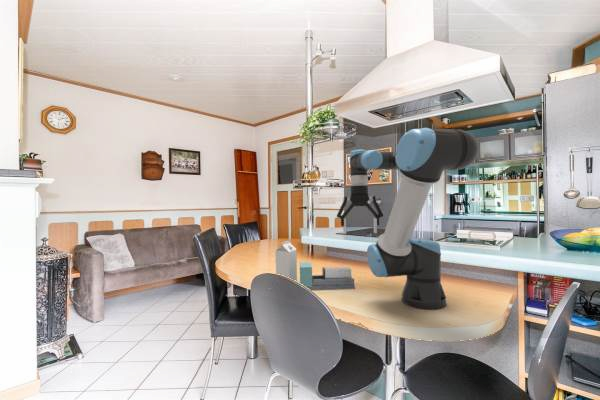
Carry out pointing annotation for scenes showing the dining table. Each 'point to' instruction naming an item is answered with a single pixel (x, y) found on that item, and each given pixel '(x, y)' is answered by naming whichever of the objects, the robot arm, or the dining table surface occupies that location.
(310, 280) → the socket housing
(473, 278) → the dining table surface
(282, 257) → the milk carton
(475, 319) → the dining table surface
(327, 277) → the sliding block
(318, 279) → the guide channel
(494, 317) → the dining table surface
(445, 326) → the dining table surface
